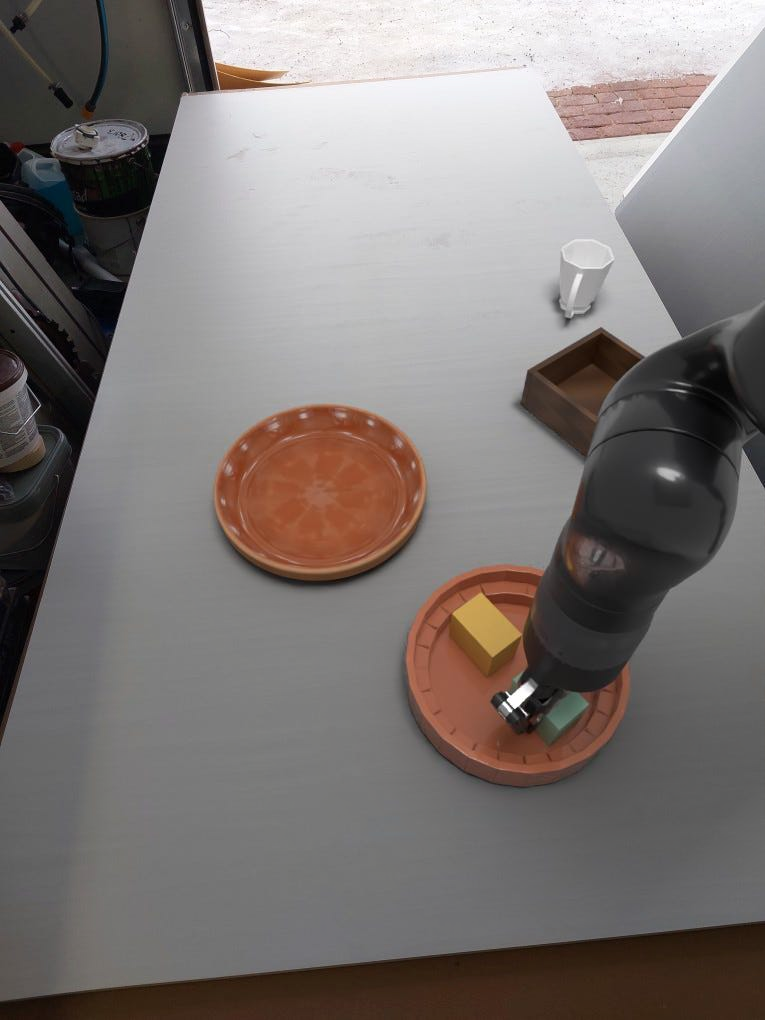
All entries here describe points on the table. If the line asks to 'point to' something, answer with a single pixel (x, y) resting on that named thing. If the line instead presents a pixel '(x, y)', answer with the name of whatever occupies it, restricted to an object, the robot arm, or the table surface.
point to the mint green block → (558, 715)
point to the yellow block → (484, 634)
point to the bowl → (495, 689)
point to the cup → (582, 274)
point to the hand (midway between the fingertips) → (543, 706)
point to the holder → (577, 385)
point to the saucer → (320, 492)
